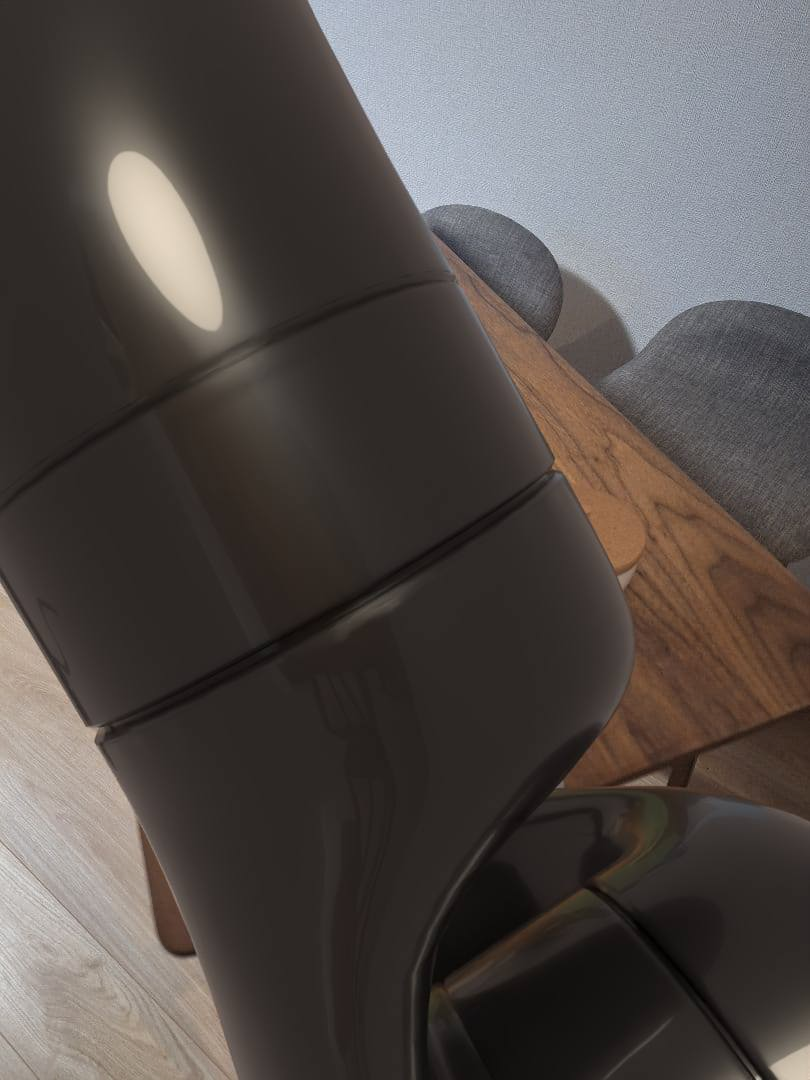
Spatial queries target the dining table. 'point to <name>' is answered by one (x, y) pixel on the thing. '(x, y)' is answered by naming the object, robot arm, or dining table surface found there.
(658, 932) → the robot arm
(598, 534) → the trinket box
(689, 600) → the dining table surface
